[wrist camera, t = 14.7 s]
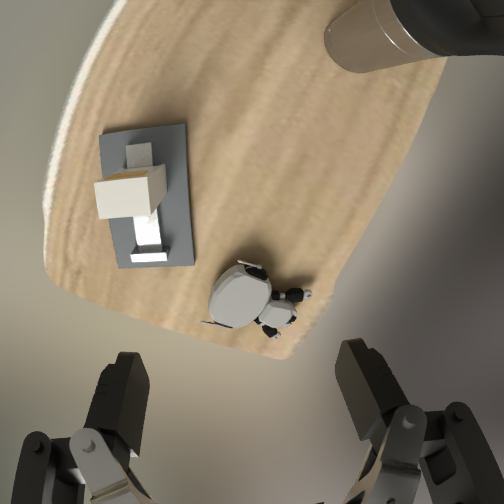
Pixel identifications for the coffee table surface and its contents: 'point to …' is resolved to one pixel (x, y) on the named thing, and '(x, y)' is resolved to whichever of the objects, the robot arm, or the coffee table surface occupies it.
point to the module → (131, 192)
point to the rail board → (173, 204)
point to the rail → (148, 225)
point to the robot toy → (252, 300)
